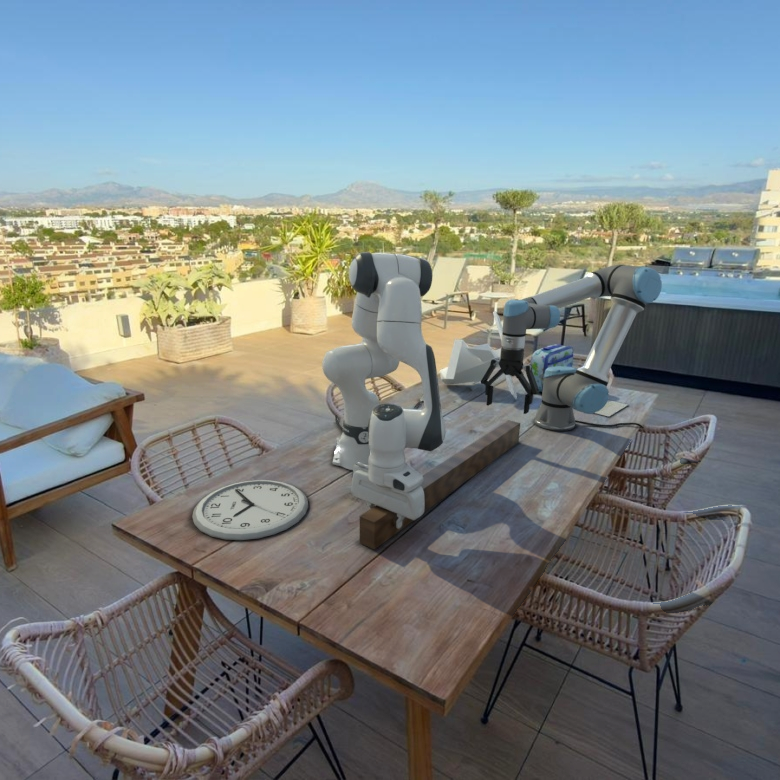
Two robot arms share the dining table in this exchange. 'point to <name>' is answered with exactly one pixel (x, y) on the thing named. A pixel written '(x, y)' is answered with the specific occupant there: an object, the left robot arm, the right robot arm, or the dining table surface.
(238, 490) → the wall clock
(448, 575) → the dining table surface
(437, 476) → the beam
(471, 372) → the white plastic object
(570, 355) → the lunch box
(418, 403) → the fork
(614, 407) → the invitation card
